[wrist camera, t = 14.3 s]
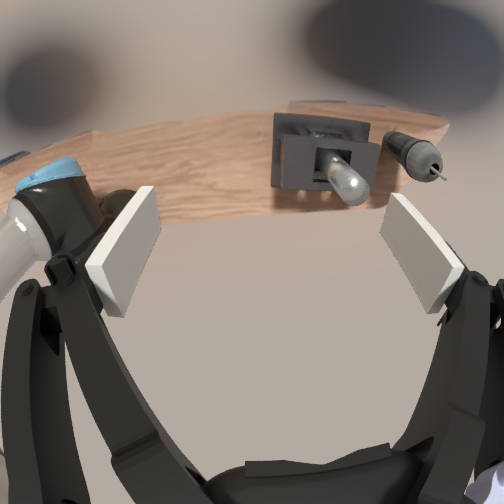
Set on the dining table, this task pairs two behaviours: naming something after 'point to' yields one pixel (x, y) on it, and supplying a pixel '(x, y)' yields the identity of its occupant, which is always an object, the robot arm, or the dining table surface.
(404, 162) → the beverage cup
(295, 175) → the grey holder stand
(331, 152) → the silver metal cylinder
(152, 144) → the dining table surface
